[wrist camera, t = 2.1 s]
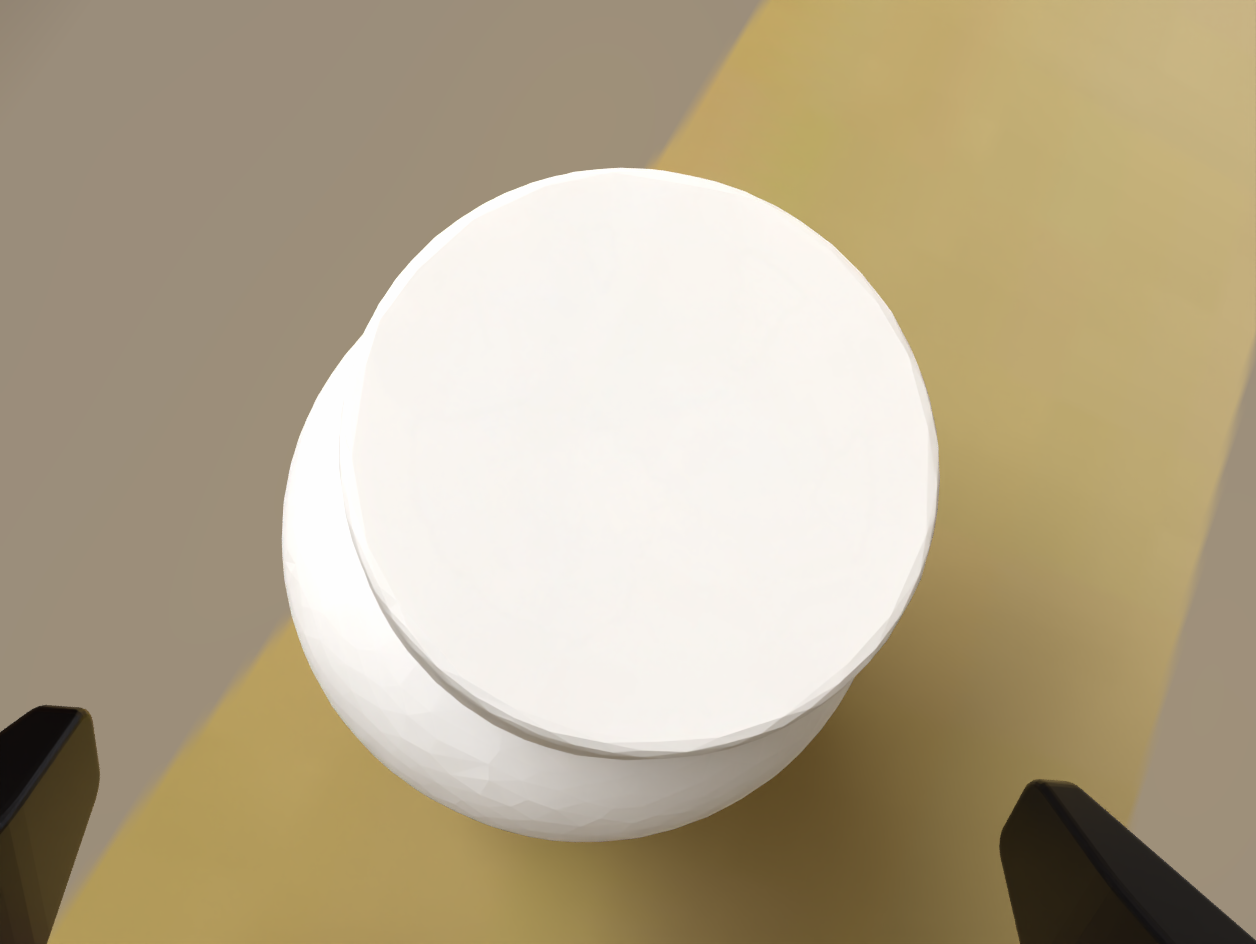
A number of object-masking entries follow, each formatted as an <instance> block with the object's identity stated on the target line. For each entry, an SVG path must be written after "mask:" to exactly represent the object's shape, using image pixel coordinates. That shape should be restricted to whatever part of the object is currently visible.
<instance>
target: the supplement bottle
mask: <svg viewBox="0 0 1256 944" xmlns="http://www.w3.org/2000/svg"><path fill="white" fill-rule="evenodd" d="M939 483H940V475H939V452H938V441H937V432H936V427H935V422H934V418H933V413H932V408H931V403H930V399H929V396H928V392H927V389H926V386H925V383H924V380H923V377H922V375H921V372H920V370H919V367H918V365H917V362H916V360H915V357H914V355H913V352H912V350H911V348H910V346H909V344H908V342H907V340H906V338H905V336H904V334H903V332H902V330H901V329H900V327H899V325H898V323H897V321H896V319H895V317H894V315H893V314H892V312H891V311H890V309H889V308H888V306H887V305H886V304H885V302H884V301H883V300H882V298H881V297H880V296H879V295H878V293H877V292H876V291H875V290H874V288H873V287H872V286H871V285H870V283H869V282H868V281H867V280H866V278H865V277H864V276H863V275H862V273H861V272H860V271H859V270H858V269H857V268H856V267H855V266H854V265H853V264H852V263H851V262H849V261H848V260H847V259H846V258H845V257H844V256H843V255H842V254H841V253H840V252H839V251H838V250H837V249H836V248H835V247H834V246H833V245H832V244H831V243H829V242H828V241H827V240H825V239H824V238H823V237H821V236H820V235H819V234H817V233H816V232H815V231H813V230H812V229H811V228H809V227H808V226H807V225H805V224H804V223H803V222H801V221H800V220H798V219H797V218H795V217H793V216H792V215H790V214H788V213H787V212H785V211H783V210H782V209H780V208H779V207H777V206H775V205H772V204H770V203H768V202H766V201H764V200H762V199H760V198H757V197H755V196H753V195H751V194H749V193H747V192H745V191H742V190H739V189H736V188H733V187H730V186H727V185H724V184H722V183H719V182H716V181H711V180H707V179H702V178H698V177H693V176H689V175H684V174H678V173H673V172H668V171H662V170H653V169H634V168H612V169H598V170H588V171H579V172H572V173H569V174H564V175H559V176H554V177H550V178H547V179H544V180H540V181H537V182H533V183H530V184H528V185H525V186H522V187H520V188H517V189H515V190H512V191H510V192H507V193H505V194H503V195H501V196H499V197H496V198H495V199H493V200H490V201H488V202H487V203H485V204H483V205H481V206H480V207H478V208H476V209H475V210H473V211H472V212H470V213H468V214H467V215H465V216H464V217H462V218H460V219H459V220H458V221H456V222H455V223H454V224H452V225H451V226H450V227H448V228H447V229H446V230H444V231H443V232H442V233H440V234H439V235H438V236H436V237H435V238H434V239H433V240H432V241H431V242H430V243H429V244H428V245H427V246H426V247H425V248H424V249H423V250H422V251H421V252H420V253H419V254H418V255H417V256H416V257H415V258H414V259H413V260H412V261H411V262H410V263H409V264H408V265H407V267H406V268H405V269H404V270H403V271H402V272H401V274H400V275H399V276H398V277H397V278H396V280H395V281H394V283H393V284H392V286H391V287H390V289H389V290H388V292H387V293H386V295H385V296H384V298H383V299H382V301H381V302H380V303H379V305H378V307H377V309H376V311H375V313H374V314H373V316H372V318H371V320H370V322H369V324H368V326H367V328H366V330H365V332H364V334H363V335H362V336H361V338H360V339H359V340H358V341H357V342H356V343H355V344H354V346H353V347H352V348H351V349H350V350H349V351H348V352H347V354H346V355H345V356H344V358H343V359H342V360H341V362H340V363H339V365H338V366H337V367H336V369H335V370H334V372H333V373H332V375H331V376H330V378H329V379H328V381H327V383H326V384H325V386H324V387H323V389H322V390H321V392H320V394H319V395H318V397H317V399H316V401H315V403H314V405H313V408H312V410H311V412H310V414H309V416H308V418H307V420H306V423H305V425H304V427H303V430H302V432H301V434H300V437H299V440H298V443H297V446H296V450H295V453H294V456H293V460H292V462H291V466H290V471H289V477H288V482H287V487H286V493H285V499H284V509H283V528H282V529H283V530H282V554H283V567H284V578H285V585H286V590H287V595H288V600H289V605H290V609H291V614H292V618H293V621H294V624H295V627H296V631H297V634H298V637H299V640H300V642H301V645H302V648H303V651H304V653H305V656H306V658H307V660H308V662H309V664H310V667H311V669H312V671H313V673H314V675H315V676H316V678H317V680H318V682H319V684H320V686H321V687H322V689H323V691H324V693H325V694H326V696H327V698H328V700H329V701H330V703H331V705H332V707H333V708H334V709H335V711H336V712H337V713H338V715H339V716H340V717H341V719H342V720H343V721H344V723H345V724H346V725H347V726H348V727H349V729H350V730H351V731H352V732H353V733H354V734H355V736H356V737H357V738H358V739H359V740H360V741H361V742H362V743H363V745H364V746H365V747H366V748H367V749H368V750H369V751H370V752H371V753H372V754H373V755H374V756H375V757H376V758H377V759H378V760H379V761H380V762H382V763H383V764H384V765H385V766H386V767H387V768H388V769H389V770H391V771H392V772H393V773H394V774H396V775H397V776H399V777H400V778H401V779H403V780H404V781H405V782H407V783H408V784H409V785H411V786H412V787H414V788H415V789H416V790H418V791H419V792H421V793H422V794H424V795H426V796H427V797H429V798H431V799H432V800H434V801H436V802H438V803H440V804H442V805H444V806H446V807H448V808H450V809H452V810H454V811H456V812H458V813H460V814H463V815H465V816H467V817H469V818H472V819H474V820H476V821H479V822H481V823H484V824H487V825H489V826H492V827H495V828H498V829H501V830H505V831H509V832H513V833H516V834H520V835H524V836H528V837H534V838H540V839H546V840H552V841H566V842H604V841H615V840H626V839H634V838H641V837H645V836H649V835H653V834H657V833H661V832H665V831H669V830H673V829H676V828H679V827H682V826H684V825H687V824H690V823H692V822H695V821H698V820H700V819H703V818H706V817H708V816H710V815H712V814H714V813H716V812H718V811H720V810H722V809H724V808H726V807H728V806H730V805H731V804H733V803H735V802H737V801H739V800H741V799H742V798H744V797H745V796H747V795H748V794H750V793H751V792H753V791H754V790H756V789H757V788H759V787H760V786H762V785H763V784H765V783H766V782H768V781H769V780H771V779H772V778H773V777H774V776H776V775H777V774H778V773H779V772H781V771H782V770H783V769H784V768H785V767H786V766H787V765H788V764H789V763H790V762H792V761H793V760H794V759H795V758H796V757H797V756H798V755H799V754H800V753H801V752H802V751H803V750H804V749H805V747H806V746H807V745H808V744H809V743H810V742H811V741H812V740H813V738H814V737H815V736H816V735H817V734H818V733H819V732H820V731H821V729H822V728H823V727H824V725H825V724H826V722H827V721H828V720H829V718H830V717H831V715H832V714H833V713H834V711H835V710H836V708H837V707H838V706H839V704H840V702H841V701H842V699H843V697H844V695H845V694H846V692H847V690H848V689H849V687H850V685H851V683H852V681H853V679H854V677H855V676H856V675H857V674H858V673H859V672H860V671H861V670H862V669H863V668H864V667H865V666H866V665H867V664H868V663H869V662H870V661H871V659H872V658H873V657H874V656H875V655H876V653H877V652H878V651H879V650H880V649H881V647H882V646H883V645H884V644H885V643H886V641H887V640H888V638H889V636H890V635H891V633H892V631H893V630H894V628H895V626H896V625H897V623H898V621H899V620H900V618H901V616H902V615H903V613H904V611H905V609H906V608H907V606H908V604H909V602H910V601H911V598H912V596H913V594H914V592H915V590H916V588H917V586H918V584H919V582H920V580H921V577H922V573H923V570H924V566H925V563H926V559H927V556H928V552H929V548H930V545H931V541H932V538H933V534H934V528H935V522H936V516H937V510H938V496H939Z"/></svg>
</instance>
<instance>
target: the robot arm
mask: <svg viewBox="0 0 1256 944" xmlns="http://www.w3.org/2000/svg"><path fill="white" fill-rule="evenodd" d="M99 770H100V769H99V762H98V756H97V748H96V742H95V734H94V727H93V721H92V717H91V715H90V713H89V712H88V711H87V710H86V709H83V708H79V707H65V706H52V705H43V706H38V707H36V708H34V709H32V710H30V711H29V712H27V713H26V714H24V715H23V716H22V717H20V718H19V719H18V720H16V721H15V722H13V723H12V724H11V725H9V726H8V727H7V728H5V729H4V730H3V731H1V732H0V944H47V942H48V939H49V936H50V933H51V930H52V927H53V924H54V921H55V918H56V915H57V912H58V909H59V906H60V903H61V901H62V898H63V895H64V892H65V889H66V886H67V883H68V880H69V876H70V874H71V871H72V868H73V865H74V862H75V859H76V856H77V853H78V850H79V847H80V844H81V841H82V838H83V835H84V832H85V829H86V826H87V823H88V820H89V817H90V815H91V812H92V808H93V806H94V803H95V800H96V796H97V792H98V787H99V780H100V771H99ZM999 847H1000V857H1001V862H1002V866H1003V870H1004V875H1005V879H1006V884H1007V888H1008V892H1009V897H1010V901H1011V906H1012V910H1013V914H1014V919H1015V923H1016V928H1017V932H1018V936H1019V941H1020V944H1256V940H1255V939H1253V938H1252V937H1251V936H1250V935H1249V934H1248V933H1247V932H1245V931H1244V930H1243V929H1242V928H1241V927H1240V926H1239V925H1237V924H1236V923H1235V922H1234V921H1233V920H1231V919H1230V918H1229V917H1228V916H1227V915H1226V914H1225V913H1224V912H1222V911H1221V910H1220V909H1219V908H1218V907H1216V905H1214V904H1213V903H1212V902H1211V901H1210V900H1209V899H1207V898H1206V897H1205V896H1204V895H1203V894H1202V893H1200V892H1199V891H1198V890H1197V889H1196V888H1195V887H1194V886H1192V885H1191V884H1190V883H1189V882H1188V881H1187V880H1186V879H1184V878H1183V877H1182V876H1181V875H1180V874H1179V873H1178V872H1176V871H1175V870H1174V869H1173V868H1172V867H1171V866H1169V865H1168V864H1167V863H1166V862H1164V860H1163V859H1161V858H1160V857H1159V856H1158V855H1157V854H1156V853H1154V852H1153V851H1152V850H1151V849H1150V848H1149V847H1147V846H1146V845H1145V844H1144V843H1143V842H1142V841H1141V840H1139V839H1138V838H1137V837H1136V836H1135V835H1134V834H1133V833H1131V832H1130V831H1129V830H1128V829H1127V828H1126V827H1124V826H1123V825H1122V824H1121V823H1120V822H1119V821H1118V820H1116V819H1115V818H1114V817H1113V816H1112V815H1111V814H1109V813H1108V812H1107V811H1106V810H1105V809H1104V808H1103V807H1101V806H1100V805H1099V804H1098V803H1097V802H1096V801H1095V800H1093V799H1092V798H1091V797H1090V796H1089V795H1088V794H1086V793H1085V792H1084V791H1083V790H1082V789H1081V788H1079V787H1078V786H1077V785H1075V784H1073V783H1070V782H1067V781H1055V780H1042V779H1037V780H1033V781H1032V782H1030V783H1029V784H1027V786H1026V787H1025V789H1024V790H1023V792H1022V794H1021V796H1020V798H1019V800H1018V801H1017V803H1016V805H1015V807H1014V809H1013V811H1012V813H1011V814H1010V816H1009V818H1008V820H1007V822H1006V824H1005V825H1004V827H1003V830H1002V832H1001V836H1000V845H999Z"/></svg>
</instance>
